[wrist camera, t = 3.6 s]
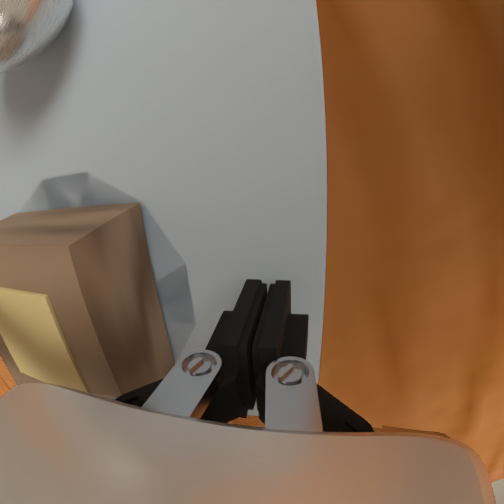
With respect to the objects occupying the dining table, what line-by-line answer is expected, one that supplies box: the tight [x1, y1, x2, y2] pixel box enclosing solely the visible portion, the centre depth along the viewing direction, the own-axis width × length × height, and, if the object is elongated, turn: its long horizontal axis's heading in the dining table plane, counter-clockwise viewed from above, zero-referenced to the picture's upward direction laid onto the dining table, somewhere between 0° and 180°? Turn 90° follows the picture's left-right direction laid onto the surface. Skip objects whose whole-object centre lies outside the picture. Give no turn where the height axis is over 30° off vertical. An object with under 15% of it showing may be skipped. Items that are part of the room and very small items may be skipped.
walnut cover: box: [0, 203, 175, 399], centre depth 13 cm, size 9×9×5 cm
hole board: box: [0, 0, 327, 416], centre depth 14 cm, size 28×23×3 cm
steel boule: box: [0, 0, 74, 73], centre depth 7 cm, size 6×6×6 cm
